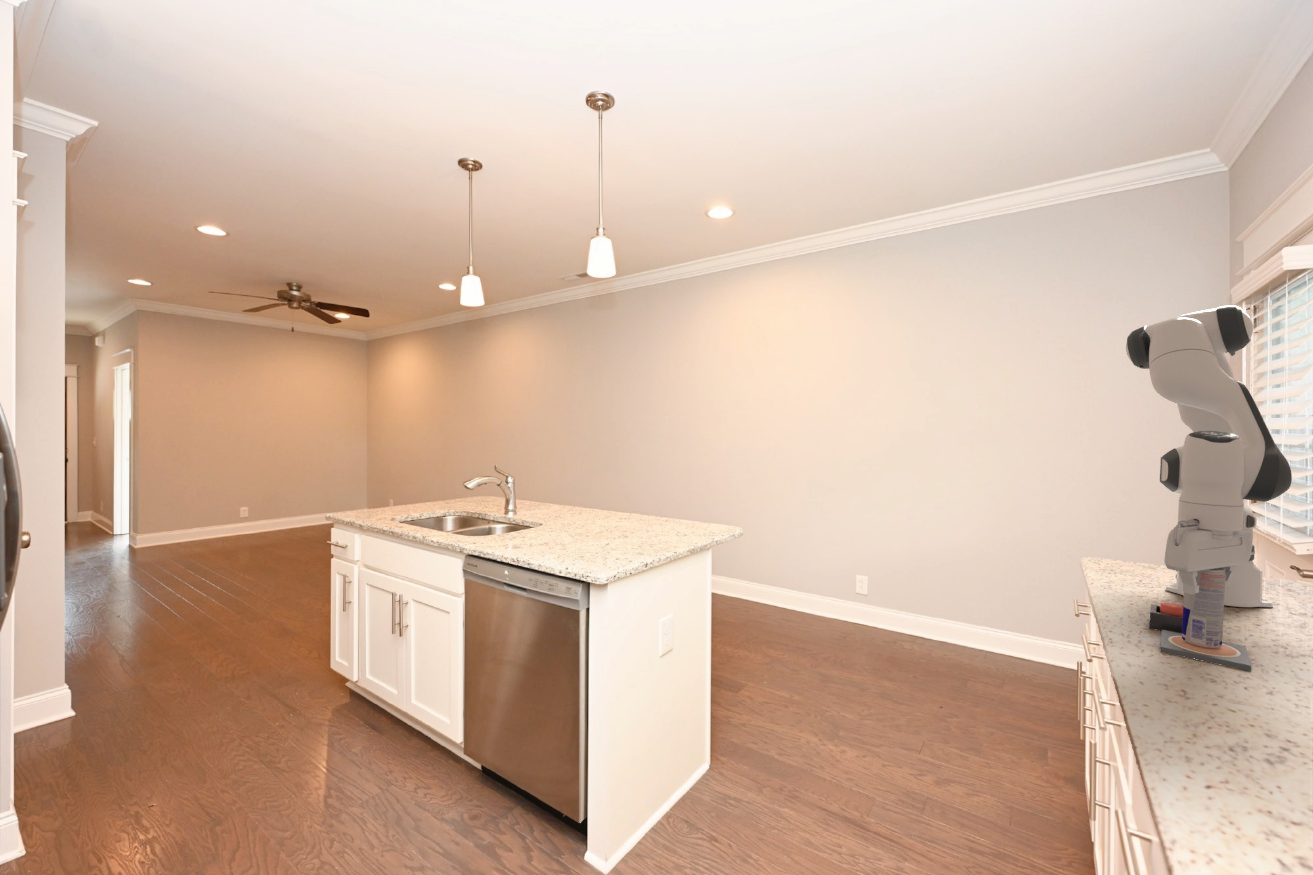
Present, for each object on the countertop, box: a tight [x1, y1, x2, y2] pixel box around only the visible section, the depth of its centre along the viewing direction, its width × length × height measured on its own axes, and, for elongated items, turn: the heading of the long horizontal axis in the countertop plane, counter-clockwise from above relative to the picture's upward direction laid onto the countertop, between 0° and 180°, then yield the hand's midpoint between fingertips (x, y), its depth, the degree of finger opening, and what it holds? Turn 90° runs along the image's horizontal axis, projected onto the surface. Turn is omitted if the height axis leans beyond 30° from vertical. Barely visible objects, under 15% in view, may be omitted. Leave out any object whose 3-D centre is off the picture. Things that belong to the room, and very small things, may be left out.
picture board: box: [1159, 630, 1252, 672], centre depth 110 cm, size 12×12×1 cm
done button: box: [1159, 602, 1183, 617], centre depth 121 cm, size 4×4×2 cm
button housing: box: [1149, 603, 1183, 633], centre depth 122 cm, size 7×7×4 cm
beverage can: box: [1182, 568, 1225, 649], centre depth 110 cm, size 6×6×15 cm
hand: (1206, 590), depth 109 cm, fingers open, 8 cm apart
